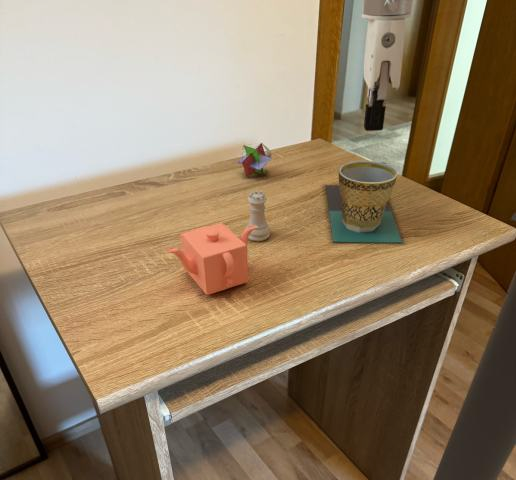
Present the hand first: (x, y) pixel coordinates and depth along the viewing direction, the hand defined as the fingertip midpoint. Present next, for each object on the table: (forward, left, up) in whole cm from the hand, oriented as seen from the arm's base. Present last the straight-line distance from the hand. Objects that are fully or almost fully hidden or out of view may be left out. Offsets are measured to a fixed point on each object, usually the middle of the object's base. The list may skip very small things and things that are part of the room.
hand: (373, 128), depth 87 cm
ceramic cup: (+1, +7, -15) cm, 16 cm away
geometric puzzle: (+22, -15, -15) cm, 31 cm away
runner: (+1, +3, -15) cm, 15 cm away
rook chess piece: (+20, +13, -15) cm, 28 cm away
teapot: (+26, +27, -15) cm, 41 cm away
